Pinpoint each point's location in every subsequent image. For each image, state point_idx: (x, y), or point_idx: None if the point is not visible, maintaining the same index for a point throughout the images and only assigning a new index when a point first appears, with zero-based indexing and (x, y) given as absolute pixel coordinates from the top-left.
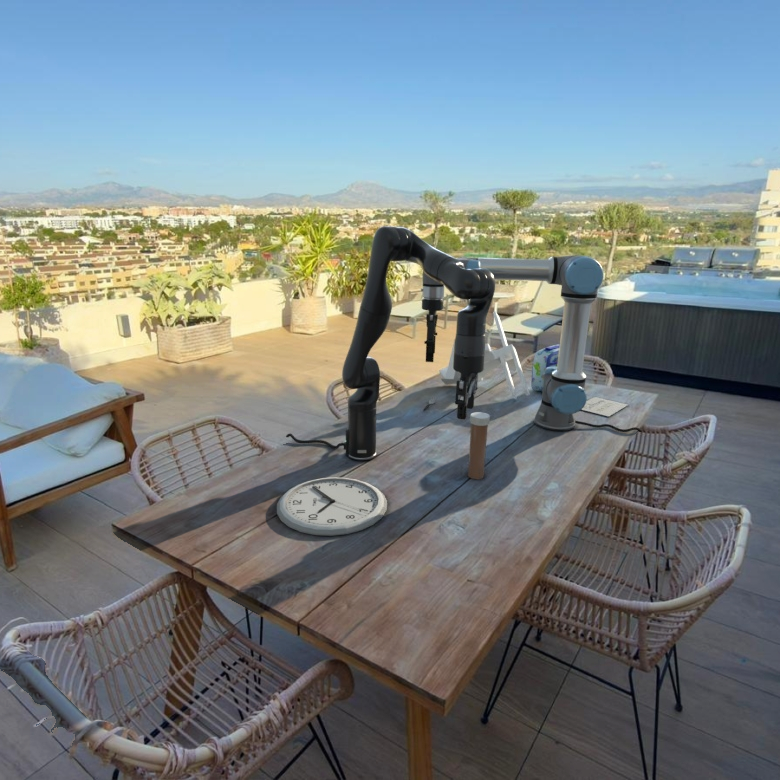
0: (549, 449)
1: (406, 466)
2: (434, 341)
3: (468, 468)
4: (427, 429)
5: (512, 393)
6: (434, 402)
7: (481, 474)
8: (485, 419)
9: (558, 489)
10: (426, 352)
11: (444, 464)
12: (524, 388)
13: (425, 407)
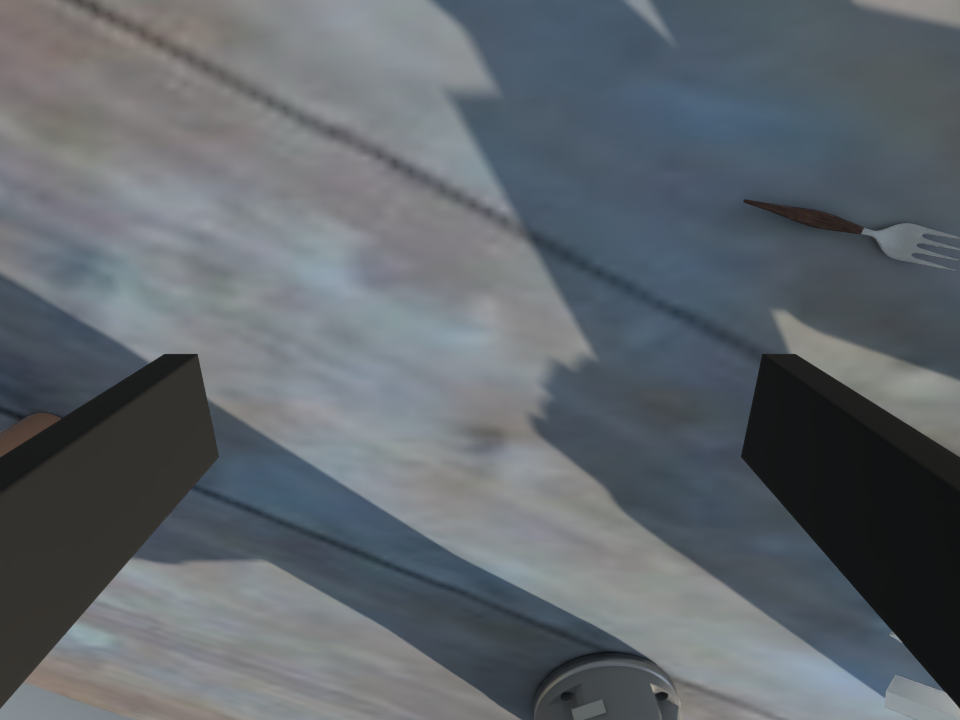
0: (362, 660)
1: (5, 164)
2: (869, 588)
3: (11, 426)
4: (477, 237)
5: (898, 639)
6: (897, 258)
7: None
8: None
9: (69, 644)
10: (54, 434)
11: (98, 328)
12: (898, 706)
13: (795, 210)
